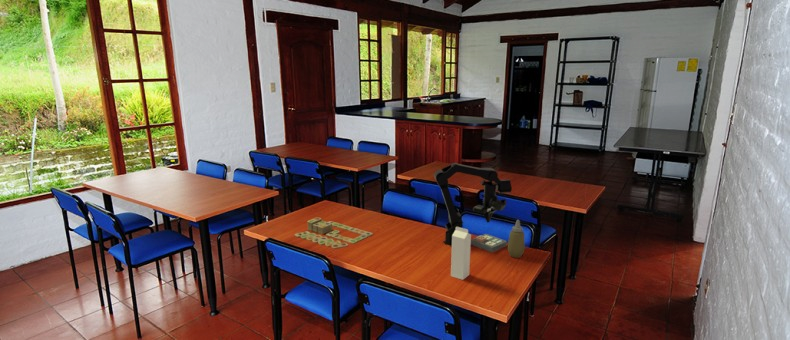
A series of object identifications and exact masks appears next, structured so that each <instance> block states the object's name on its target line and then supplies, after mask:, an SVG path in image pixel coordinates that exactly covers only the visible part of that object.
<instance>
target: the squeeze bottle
mask: <svg viewBox="0 0 790 340" xmlns="http://www.w3.org/2000/svg"><path fill="white" fill-rule="evenodd" d="M515 221H516V222H515V224H514V225H513V226H512V227H511V228H512V229H511V230H510V231H509V236H508V241H507V246H506V247H507V251H508V255H509V256H510V257H512V258H516V259H517V258H521V257H522V256H523V254H524V252H525V248H526V247H525V246H526V245H525V232H524V231H523V226H521V221H520V219H517V220H515Z"/></svg>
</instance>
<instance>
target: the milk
mask: <svg viewBox="0 0 790 340" xmlns="http://www.w3.org/2000/svg"><path fill="white" fill-rule="evenodd" d="M471 240H472V234H471V233H469V229H467V228H463V227H462V228H460V227H456V230H455V232H454V233H453V235H452V246H451V255H450V257H451V260H450V261H451V262H450V266H451V267H450V277H452V278H455V279H458V280H462V281H464V280H465V279H466V278H467V277H469V276H470V269H471V268H470V266H471V265H470V264H471V246H472V245H471Z"/></svg>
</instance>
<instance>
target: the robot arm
mask: <svg viewBox="0 0 790 340" xmlns="http://www.w3.org/2000/svg"><path fill="white" fill-rule="evenodd" d="M456 173H460V174H465V175H471V176H474V177H479V178H481V179H483V180H481V182H480V185H481V186H483V187H484V188H483V190H484V191H483V194H482V195H481V197H482V198H483V202H481V204H477V205H475V206H473V208H472V212H474V213H477V214H481V215H483V216H484V219H485V221H486V223H490V222H491V219H492V216H493V214H494V213H495V212H496V211H497V212H501V211H503V210H504V209H505V207H507V206H508V205H507V199H505V198H503V199H499V198H498V197H499V196H498V195H497V194H496V192H498V194H510V193H512V190H513V189H512V182H511V179H508V178H507V179H500V178H499V177H498V176H499V175H498V172H497V170H495V169H494V168H493V167H476V166H471V165H466V164H460V163H457V162H452V163H451V164H449V165H447V166H445V167H443V168H440V169H436V171H435V172H434V174H433V177H434V180H435V181H436V183H437V185H438V187H439V189H440V191H441V194H442V197H443V200H444V203H445V206H446V209H447V211H448V212H447V213H448V222H447V223H446V224H445V225H444V226H445V229H446V231H445V233H444V235H445V239H444V240H443V241H442V243H444V244H446V245H448V246H451V247H452V235H453V233H454V232H455V230H456V227H460V228H463V227H464V223H465V222H464V221H463V217H462V215H461V213H460V212H459V211H457V210H456V207H455V204H454V202H453V198H452V195H451V192H450V189H449V181H448V180H449V179H450V178H451V177H452V176H454V175H455V174H456Z"/></svg>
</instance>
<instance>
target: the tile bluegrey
mask: <svg viewBox="0 0 790 340" xmlns="http://www.w3.org/2000/svg"><path fill="white" fill-rule="evenodd" d="M492 242H495V243H498V244H499V243H501V242H503V241H501V240H499V239H494V240H492Z"/></svg>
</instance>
